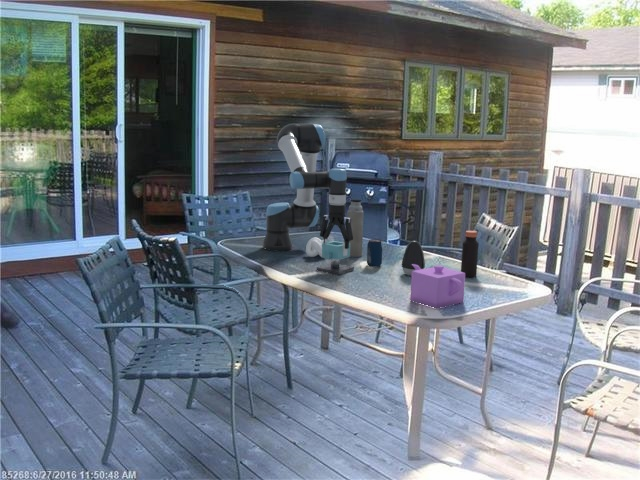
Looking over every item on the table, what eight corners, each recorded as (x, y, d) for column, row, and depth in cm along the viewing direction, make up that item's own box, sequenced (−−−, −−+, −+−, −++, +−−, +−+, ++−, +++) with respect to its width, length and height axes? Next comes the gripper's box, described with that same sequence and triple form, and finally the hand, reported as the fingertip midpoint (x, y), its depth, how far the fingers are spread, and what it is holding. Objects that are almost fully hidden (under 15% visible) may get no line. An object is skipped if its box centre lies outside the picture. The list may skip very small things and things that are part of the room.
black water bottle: (478, 277, 283) (481, 232, 280) (463, 278, 282) (467, 232, 279) (472, 274, 290) (475, 230, 286) (458, 274, 289) (461, 230, 285)
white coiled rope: (301, 257, 316) (301, 239, 314) (310, 253, 327) (311, 235, 325) (322, 260, 312) (323, 241, 310) (331, 255, 322) (332, 237, 321)
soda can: (383, 265, 304) (384, 239, 301) (378, 268, 297) (379, 242, 295) (369, 263, 306) (370, 238, 304) (364, 266, 300) (365, 240, 298)
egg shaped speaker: (426, 273, 290) (428, 239, 287) (422, 278, 280) (424, 243, 277) (403, 270, 293) (405, 237, 290) (398, 275, 284) (400, 241, 281)
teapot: (423, 291, 260) (425, 257, 257) (473, 306, 241) (476, 269, 238) (396, 296, 251) (398, 261, 248) (446, 312, 231) (448, 274, 229)
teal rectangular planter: (334, 260, 281) (335, 247, 280) (318, 257, 287) (318, 244, 286) (353, 255, 292) (353, 242, 291) (336, 252, 298) (337, 240, 297)
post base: (316, 270, 290) (316, 252, 288) (332, 266, 299) (332, 248, 297) (338, 274, 283) (339, 255, 281) (353, 270, 292) (354, 251, 290)
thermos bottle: (346, 253, 328) (348, 198, 323) (362, 253, 327) (364, 198, 322) (345, 256, 320) (347, 200, 315) (361, 257, 320) (363, 200, 314)
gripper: (312, 202, 289) (311, 252, 293) (352, 207, 276) (351, 259, 280) (322, 201, 295) (321, 249, 299) (362, 205, 282) (360, 256, 286)
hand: (335, 254), depth 289 cm, fingers closed on teal rectangular planter, 9 cm apart
